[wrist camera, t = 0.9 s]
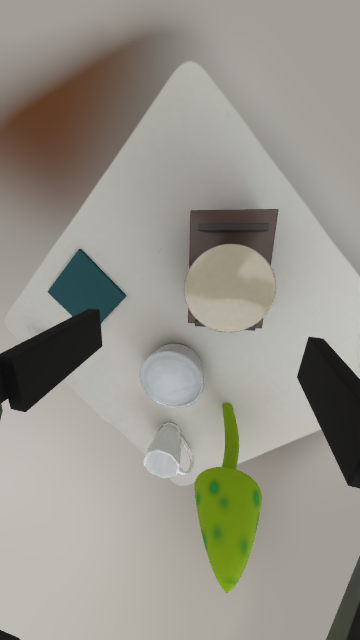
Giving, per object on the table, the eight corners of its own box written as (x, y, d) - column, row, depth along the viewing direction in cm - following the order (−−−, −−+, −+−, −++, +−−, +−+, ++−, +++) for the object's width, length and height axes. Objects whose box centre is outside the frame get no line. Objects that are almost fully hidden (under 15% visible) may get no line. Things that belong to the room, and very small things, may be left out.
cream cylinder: (200, 241, 25) (184, 243, 16) (262, 242, 24) (283, 244, 15) (198, 299, 28) (183, 329, 18) (254, 302, 26) (269, 336, 17)
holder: (200, 218, 34) (181, 203, 20) (263, 217, 32) (291, 201, 18) (197, 302, 38) (180, 338, 24) (253, 305, 37) (268, 346, 23)
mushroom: (234, 381, 42) (241, 557, 19) (258, 414, 43) (294, 617, 20) (197, 399, 45) (164, 571, 22) (221, 430, 46) (214, 622, 23)
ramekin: (185, 400, 45) (180, 419, 40) (138, 368, 45) (128, 384, 40) (218, 361, 41) (217, 377, 36) (167, 326, 41) (159, 338, 36)
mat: (49, 291, 43) (47, 291, 43) (80, 249, 39) (78, 249, 38) (92, 332, 44) (90, 333, 44) (126, 295, 40) (125, 296, 40)
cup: (166, 411, 47) (155, 443, 40) (205, 439, 48) (200, 476, 40) (149, 429, 50) (135, 463, 42) (185, 455, 50) (178, 493, 43)
